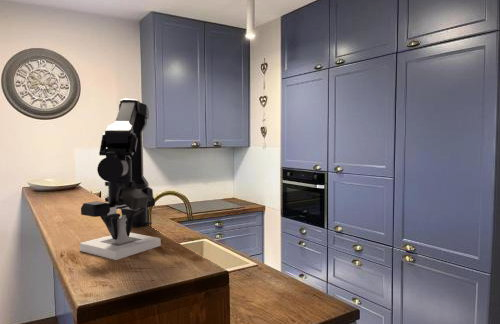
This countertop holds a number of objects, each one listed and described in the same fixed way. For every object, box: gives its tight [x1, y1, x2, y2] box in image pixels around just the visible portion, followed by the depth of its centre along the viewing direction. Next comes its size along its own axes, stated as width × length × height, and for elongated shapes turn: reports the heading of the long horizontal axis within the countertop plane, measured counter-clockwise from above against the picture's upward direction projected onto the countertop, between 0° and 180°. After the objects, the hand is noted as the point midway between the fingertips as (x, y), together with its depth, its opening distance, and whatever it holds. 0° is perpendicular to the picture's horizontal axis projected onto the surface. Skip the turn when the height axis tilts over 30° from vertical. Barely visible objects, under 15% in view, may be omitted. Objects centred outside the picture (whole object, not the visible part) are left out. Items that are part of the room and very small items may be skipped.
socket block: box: [79, 232, 162, 261], centre depth 91 cm, size 14×14×2 cm
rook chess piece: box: [112, 214, 130, 244], centre depth 91 cm, size 4×4×8 cm
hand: (121, 237), depth 92 cm, fingers closed on rook chess piece, 3 cm apart
